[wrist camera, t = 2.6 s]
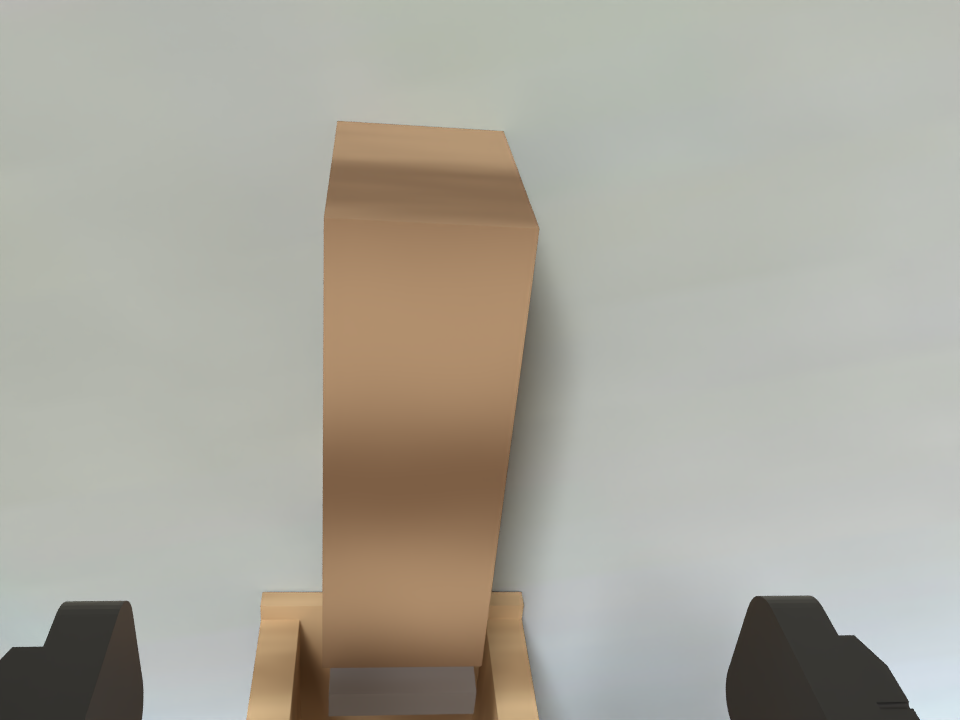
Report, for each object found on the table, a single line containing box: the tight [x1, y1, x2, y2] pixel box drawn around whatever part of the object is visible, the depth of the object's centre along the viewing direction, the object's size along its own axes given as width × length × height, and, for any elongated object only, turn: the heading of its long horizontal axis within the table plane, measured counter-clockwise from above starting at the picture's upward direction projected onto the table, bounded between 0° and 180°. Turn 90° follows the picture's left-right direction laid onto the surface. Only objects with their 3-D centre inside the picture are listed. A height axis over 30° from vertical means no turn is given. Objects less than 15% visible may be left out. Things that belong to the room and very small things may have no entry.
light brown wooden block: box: [322, 121, 539, 716], centre depth 23 cm, size 13×4×7 cm, turn 175°
